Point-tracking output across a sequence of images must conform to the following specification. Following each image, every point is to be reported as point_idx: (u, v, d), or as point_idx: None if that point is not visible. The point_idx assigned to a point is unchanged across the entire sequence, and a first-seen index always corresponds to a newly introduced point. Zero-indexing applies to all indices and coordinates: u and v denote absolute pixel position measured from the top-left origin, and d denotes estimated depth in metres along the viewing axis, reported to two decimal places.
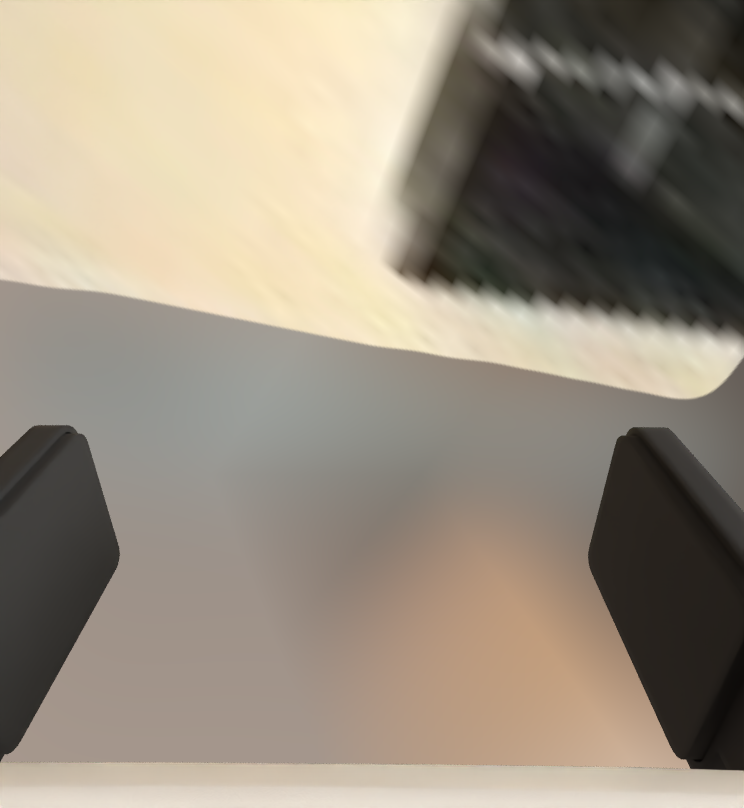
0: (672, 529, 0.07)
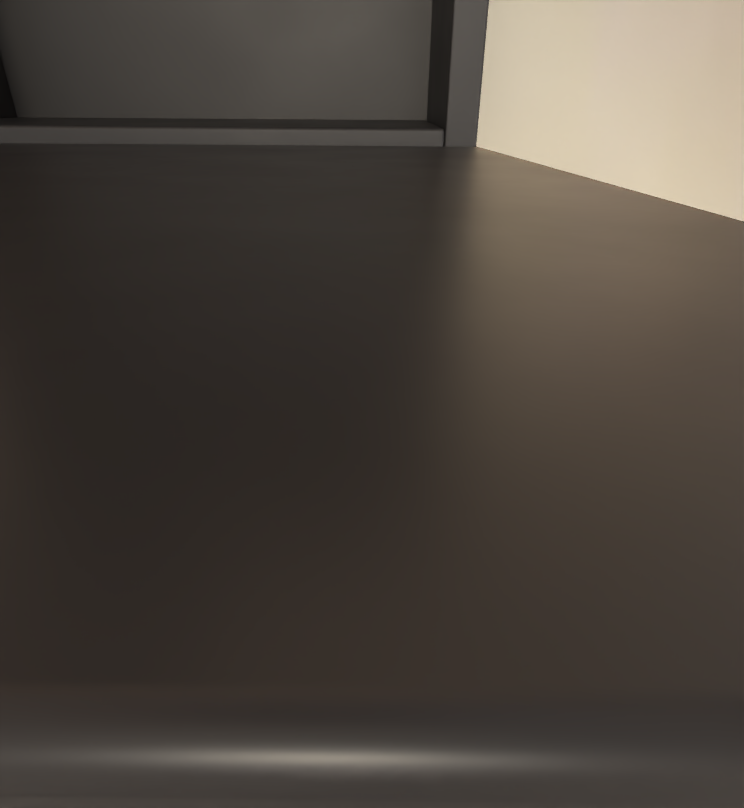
0: None
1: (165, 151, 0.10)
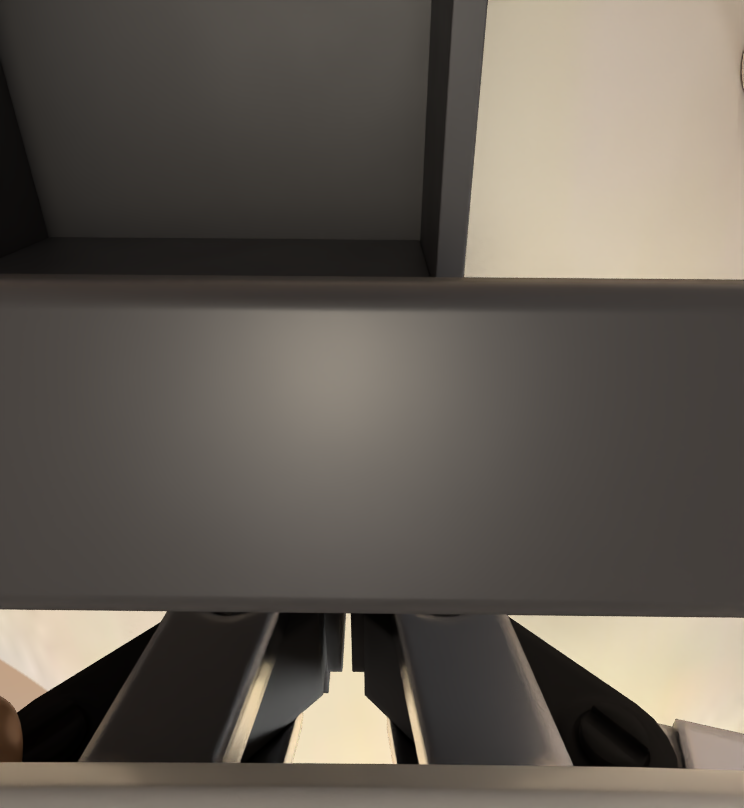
0: None
1: None
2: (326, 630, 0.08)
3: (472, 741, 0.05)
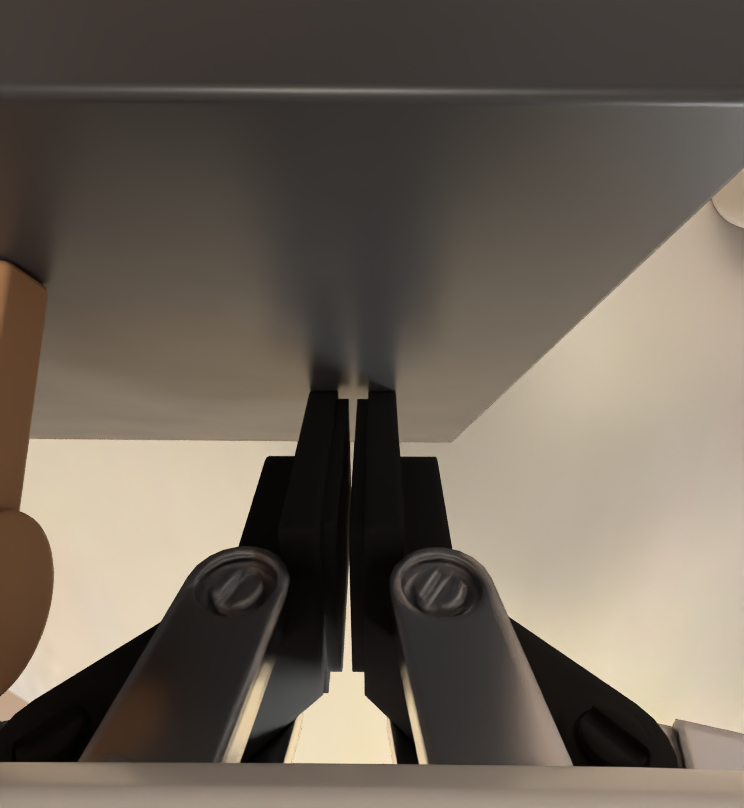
0: None
1: None
2: (326, 630, 0.08)
3: (472, 741, 0.05)
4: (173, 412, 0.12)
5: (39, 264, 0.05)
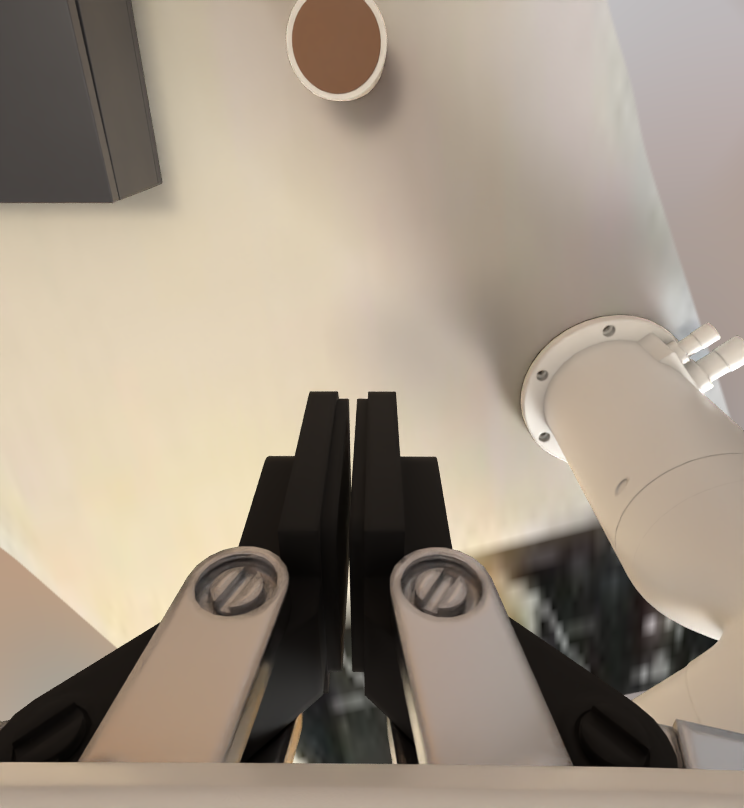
0: None
1: None
2: (326, 630, 0.08)
3: (472, 741, 0.05)
4: None
5: None
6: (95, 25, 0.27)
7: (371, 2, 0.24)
